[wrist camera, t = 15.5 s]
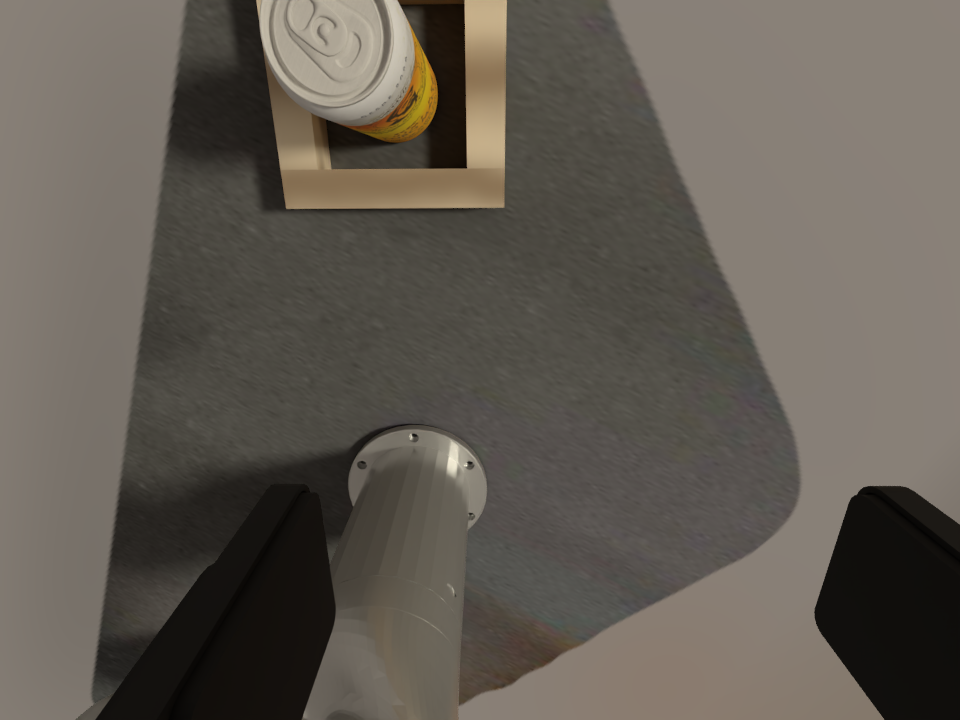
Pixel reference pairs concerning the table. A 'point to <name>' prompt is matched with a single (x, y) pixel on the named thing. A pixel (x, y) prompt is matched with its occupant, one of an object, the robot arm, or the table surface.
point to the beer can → (351, 64)
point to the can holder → (407, 188)
